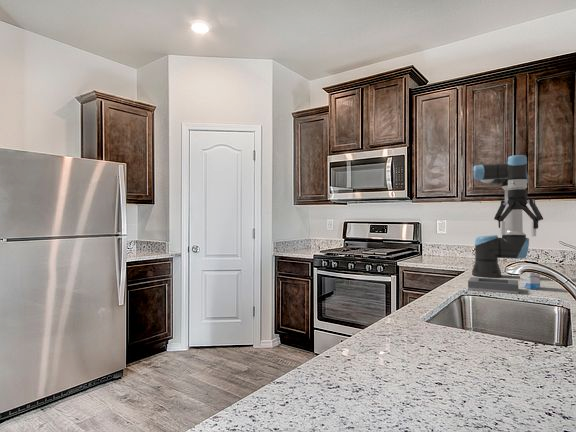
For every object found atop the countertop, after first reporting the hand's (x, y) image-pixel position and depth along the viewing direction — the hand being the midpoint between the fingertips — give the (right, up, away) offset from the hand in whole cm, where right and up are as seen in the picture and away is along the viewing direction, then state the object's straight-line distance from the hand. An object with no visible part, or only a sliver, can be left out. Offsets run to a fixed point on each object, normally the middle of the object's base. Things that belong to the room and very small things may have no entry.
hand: (517, 235), depth 172 cm
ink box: (+10, -26, +7) cm, 29 cm away
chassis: (-9, -25, +4) cm, 27 cm away
